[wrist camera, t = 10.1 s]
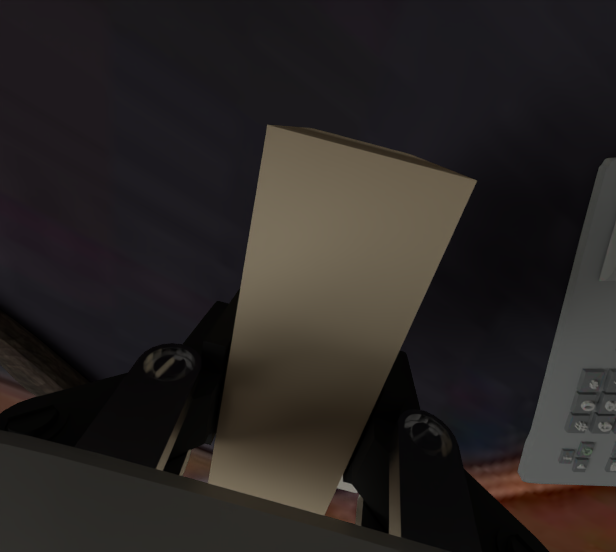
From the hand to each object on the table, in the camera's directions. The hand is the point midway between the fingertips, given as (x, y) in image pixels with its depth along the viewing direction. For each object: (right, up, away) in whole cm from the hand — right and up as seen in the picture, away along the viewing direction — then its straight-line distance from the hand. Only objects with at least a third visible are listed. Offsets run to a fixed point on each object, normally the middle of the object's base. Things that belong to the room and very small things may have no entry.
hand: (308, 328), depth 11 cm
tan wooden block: (0, +1, +2) cm, 2 cm away
